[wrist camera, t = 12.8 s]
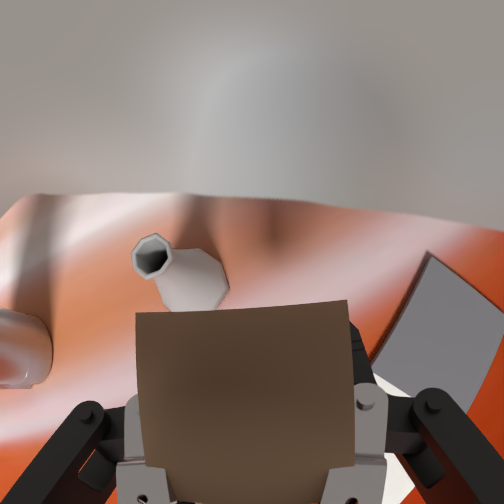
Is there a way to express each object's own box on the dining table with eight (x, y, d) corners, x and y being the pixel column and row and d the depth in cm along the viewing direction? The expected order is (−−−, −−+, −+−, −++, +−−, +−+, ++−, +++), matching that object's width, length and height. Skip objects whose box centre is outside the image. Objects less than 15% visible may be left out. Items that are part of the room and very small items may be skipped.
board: (378, 518, 19) (380, 522, 18) (282, 473, 22) (282, 477, 21) (503, 320, 24) (508, 318, 23) (427, 259, 27) (431, 256, 26)
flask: (202, 237, 31) (167, 190, 21) (243, 292, 28) (221, 264, 19) (148, 278, 30) (95, 247, 21) (183, 335, 28) (135, 328, 18)
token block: (312, 409, 14) (353, 497, 4) (228, 413, 14) (151, 496, 5) (307, 328, 15) (347, 299, 6) (224, 334, 15) (135, 312, 6)
